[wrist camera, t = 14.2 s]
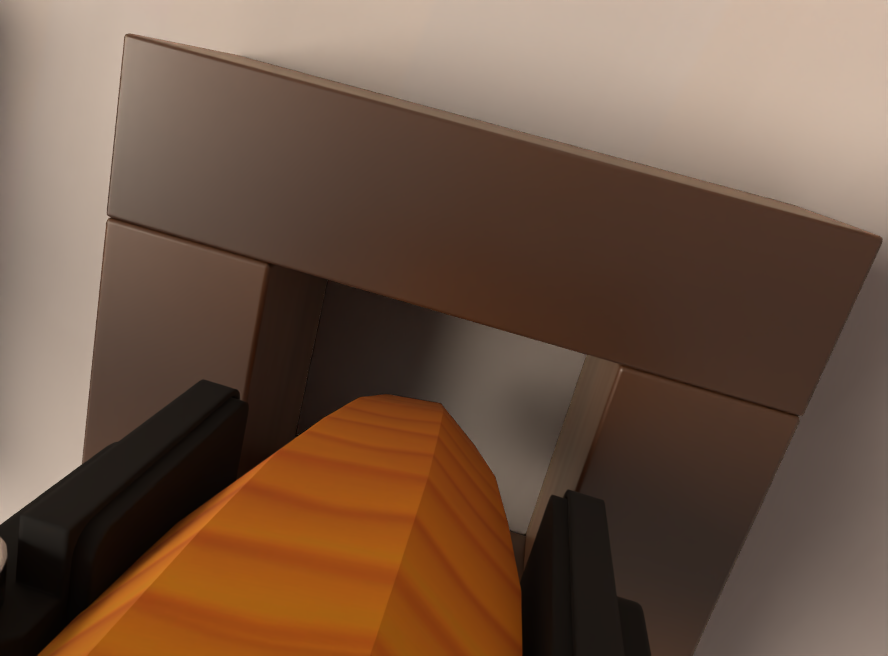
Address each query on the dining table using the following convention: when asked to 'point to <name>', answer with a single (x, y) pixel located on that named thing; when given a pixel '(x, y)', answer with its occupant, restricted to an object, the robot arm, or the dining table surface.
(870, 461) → the dining table surface
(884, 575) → the dining table surface
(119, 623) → the carrot
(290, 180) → the holder
